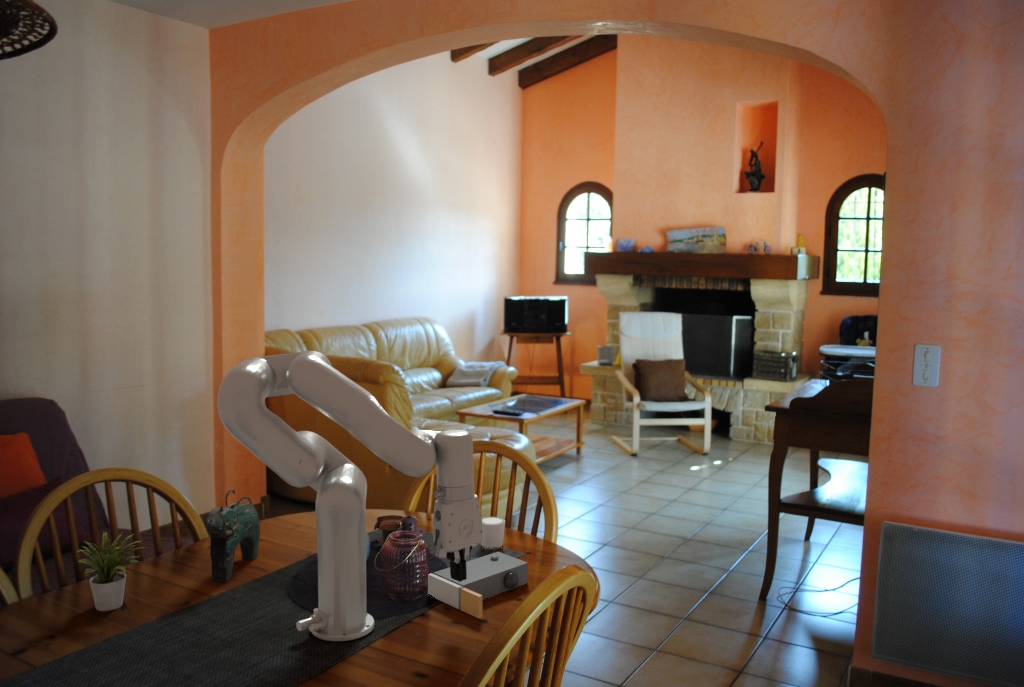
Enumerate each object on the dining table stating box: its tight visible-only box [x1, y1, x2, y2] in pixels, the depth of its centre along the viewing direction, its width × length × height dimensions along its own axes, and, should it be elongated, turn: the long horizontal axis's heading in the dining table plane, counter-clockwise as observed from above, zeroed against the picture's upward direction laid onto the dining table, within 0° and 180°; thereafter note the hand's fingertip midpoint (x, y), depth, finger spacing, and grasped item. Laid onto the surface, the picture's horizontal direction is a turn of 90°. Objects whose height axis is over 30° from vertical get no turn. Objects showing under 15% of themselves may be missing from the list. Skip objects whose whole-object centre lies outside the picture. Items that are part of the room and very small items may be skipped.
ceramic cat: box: [206, 489, 261, 584], centre depth 203 cm, size 20×6×20 cm, turn 171°
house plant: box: [77, 530, 146, 612], centre depth 180 cm, size 14×14×16 cm
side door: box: [427, 572, 483, 619], centre depth 183 cm, size 1×17×5 cm, turn 44°
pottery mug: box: [373, 514, 404, 543], centre depth 224 cm, size 12×10×8 cm
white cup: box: [480, 516, 506, 548], centre depth 221 cm, size 7×7×7 cm
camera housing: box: [433, 551, 529, 601], centre depth 192 cm, size 20×11×6 cm, turn 134°
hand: (458, 578), depth 174 cm, fingers closed
